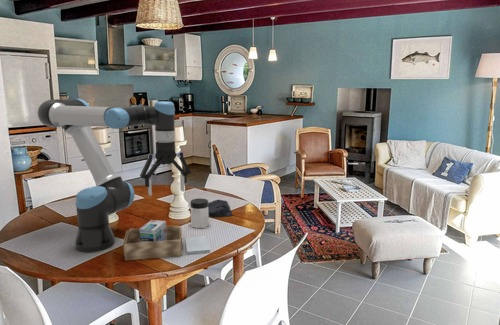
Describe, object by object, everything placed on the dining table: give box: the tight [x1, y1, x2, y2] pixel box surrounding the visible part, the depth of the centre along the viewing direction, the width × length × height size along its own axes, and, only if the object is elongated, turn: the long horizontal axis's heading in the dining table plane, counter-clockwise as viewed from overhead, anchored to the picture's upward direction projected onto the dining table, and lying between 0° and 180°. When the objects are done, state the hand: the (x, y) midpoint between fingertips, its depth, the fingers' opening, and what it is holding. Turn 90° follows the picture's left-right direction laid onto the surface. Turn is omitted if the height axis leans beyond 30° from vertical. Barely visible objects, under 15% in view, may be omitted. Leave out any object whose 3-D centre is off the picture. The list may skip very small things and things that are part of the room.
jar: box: [189, 197, 210, 229], centre depth 181 cm, size 9×8×12 cm
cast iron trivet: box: [208, 199, 233, 218], centre depth 203 cm, size 15×22×5 cm
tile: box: [184, 236, 211, 256], centre depth 158 cm, size 9×14×1 cm, turn 12°
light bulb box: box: [139, 219, 167, 243], centre depth 154 cm, size 11×7×11 cm, turn 168°
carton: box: [122, 225, 184, 261], centre depth 154 cm, size 22×16×7 cm
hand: (166, 192), depth 158 cm, fingers open, 13 cm apart
